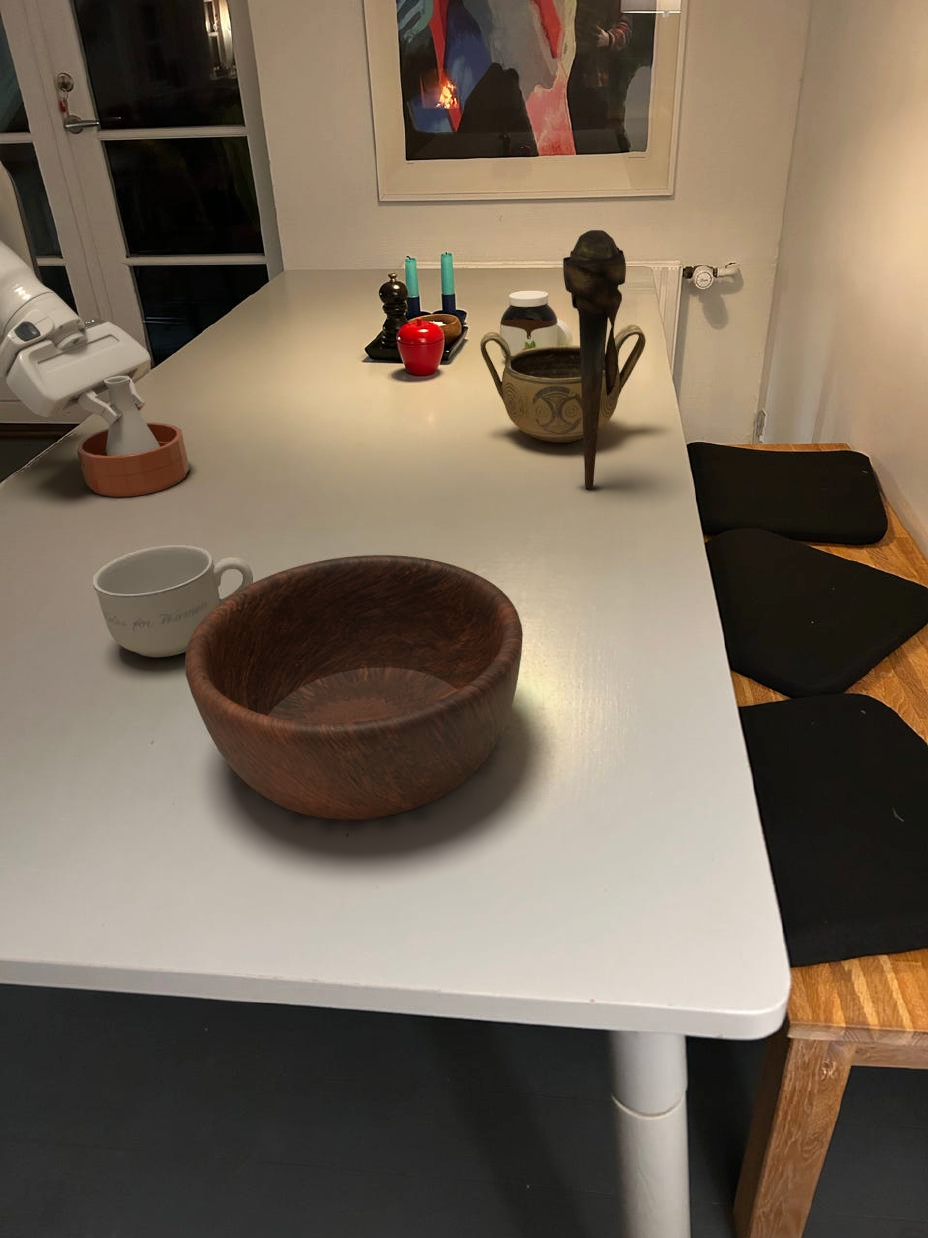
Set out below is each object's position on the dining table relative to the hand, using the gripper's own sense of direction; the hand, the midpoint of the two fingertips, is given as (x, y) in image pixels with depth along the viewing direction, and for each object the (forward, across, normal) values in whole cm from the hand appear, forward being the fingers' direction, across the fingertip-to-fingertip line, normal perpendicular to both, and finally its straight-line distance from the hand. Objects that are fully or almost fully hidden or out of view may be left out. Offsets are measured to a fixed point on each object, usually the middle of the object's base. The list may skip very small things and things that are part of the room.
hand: (128, 414), depth 120 cm
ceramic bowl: (+42, -29, +29) cm, 59 cm away
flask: (+4, 0, -4) cm, 6 cm away
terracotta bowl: (+6, 0, -7) cm, 9 cm away
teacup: (+28, +33, +15) cm, 46 cm away
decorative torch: (+48, -12, +35) cm, 61 cm away
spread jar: (+32, -67, +18) cm, 77 cm away
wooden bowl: (+44, +42, +32) cm, 69 cm away
